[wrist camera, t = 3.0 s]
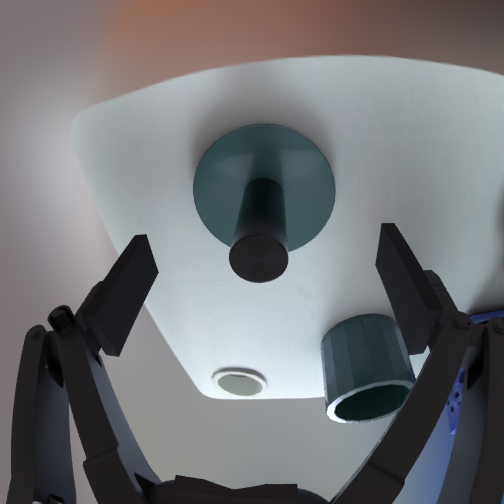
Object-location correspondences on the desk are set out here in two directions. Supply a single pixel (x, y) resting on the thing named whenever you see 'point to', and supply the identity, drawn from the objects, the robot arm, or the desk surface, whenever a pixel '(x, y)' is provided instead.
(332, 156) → the desk surface
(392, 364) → the pot
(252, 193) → the lid
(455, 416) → the flower pot
